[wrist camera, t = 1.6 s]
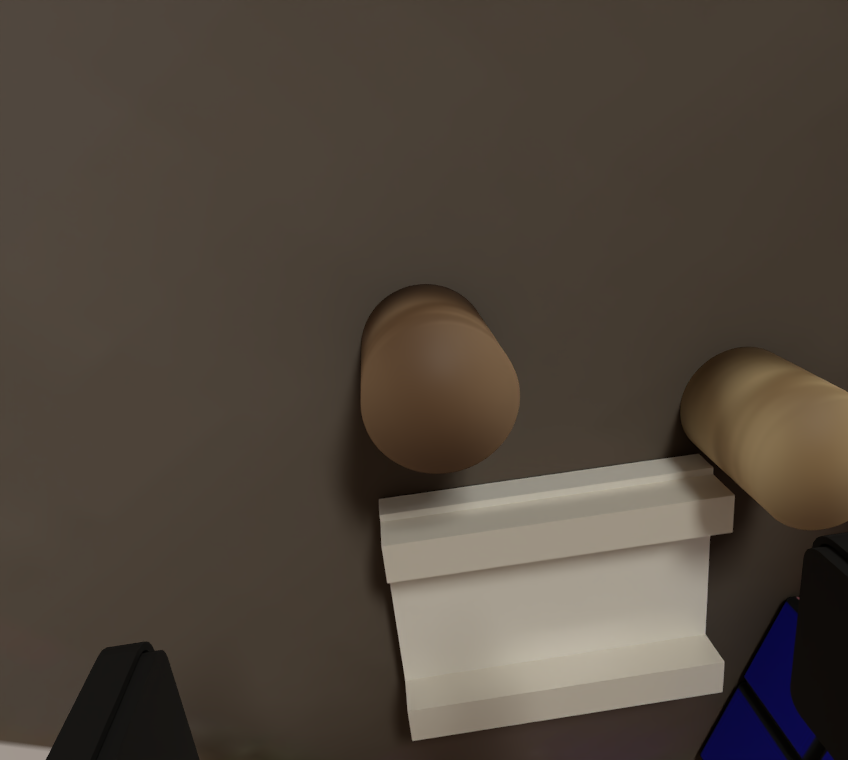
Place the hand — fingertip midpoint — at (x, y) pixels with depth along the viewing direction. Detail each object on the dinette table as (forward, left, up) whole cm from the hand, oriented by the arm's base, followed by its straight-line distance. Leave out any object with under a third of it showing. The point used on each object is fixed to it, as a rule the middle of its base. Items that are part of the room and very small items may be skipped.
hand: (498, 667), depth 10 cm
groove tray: (-4, +11, -15) cm, 19 cm away
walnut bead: (0, 0, -16) cm, 16 cm away
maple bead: (-12, +4, -16) cm, 20 cm away
